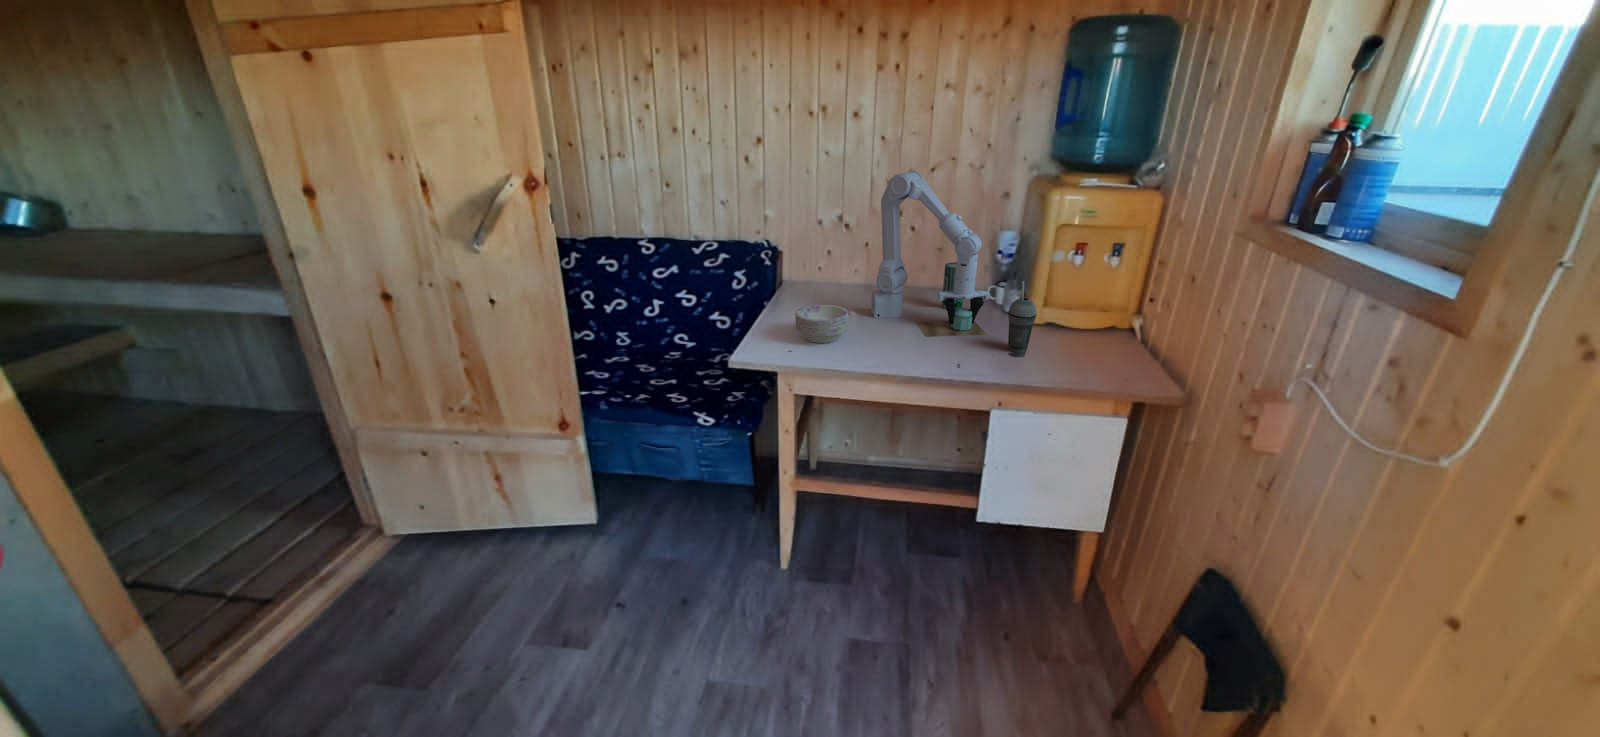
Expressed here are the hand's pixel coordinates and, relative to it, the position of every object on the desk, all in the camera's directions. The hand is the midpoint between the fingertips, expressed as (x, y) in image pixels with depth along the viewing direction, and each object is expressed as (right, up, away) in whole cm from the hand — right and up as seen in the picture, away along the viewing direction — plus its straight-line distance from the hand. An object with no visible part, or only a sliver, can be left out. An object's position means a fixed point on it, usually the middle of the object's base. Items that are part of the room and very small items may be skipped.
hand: (961, 322), depth 191 cm
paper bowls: (-41, -5, -3) cm, 41 cm away
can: (+1, +5, +19) cm, 19 cm away
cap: (0, -1, 0) cm, 1 cm away
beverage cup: (+11, -10, -15) cm, 21 cm away
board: (-3, -3, +1) cm, 4 cm away
